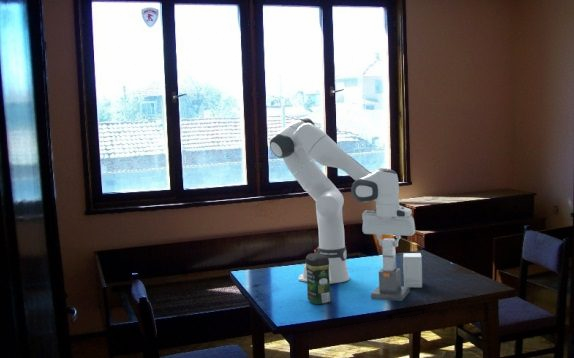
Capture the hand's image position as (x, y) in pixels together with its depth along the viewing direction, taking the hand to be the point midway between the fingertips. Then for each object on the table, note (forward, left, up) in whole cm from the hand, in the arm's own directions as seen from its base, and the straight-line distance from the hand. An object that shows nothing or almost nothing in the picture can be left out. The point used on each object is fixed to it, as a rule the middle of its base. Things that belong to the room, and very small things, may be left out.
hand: (388, 245), depth 232 cm
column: (0, 0, -15) cm, 15 cm away
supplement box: (+5, +16, -20) cm, 26 cm away
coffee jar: (-24, -15, -20) cm, 35 cm away
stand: (0, 0, -20) cm, 20 cm away
